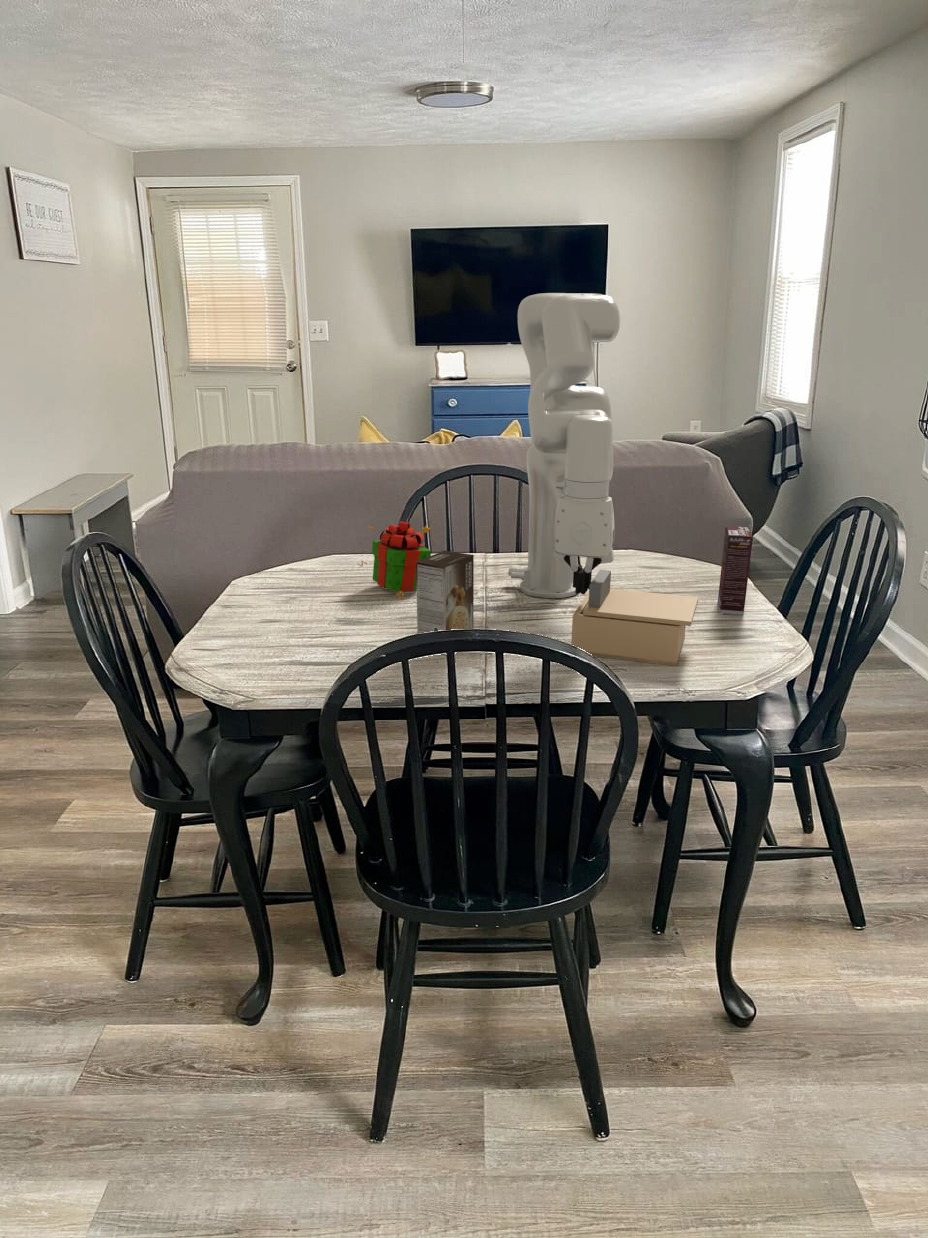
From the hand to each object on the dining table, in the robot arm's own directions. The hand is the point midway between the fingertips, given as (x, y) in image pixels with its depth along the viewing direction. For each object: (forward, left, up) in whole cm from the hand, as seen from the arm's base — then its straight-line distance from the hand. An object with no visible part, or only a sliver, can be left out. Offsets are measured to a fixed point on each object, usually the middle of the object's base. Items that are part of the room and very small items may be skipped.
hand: (581, 591), depth 164 cm
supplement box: (+25, +28, -9) cm, 39 cm away
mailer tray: (+9, 0, -9) cm, 13 cm away
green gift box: (-44, +21, -9) cm, 50 cm away
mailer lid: (+11, 0, -2) cm, 11 cm away
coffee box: (-22, -10, -9) cm, 26 cm away
